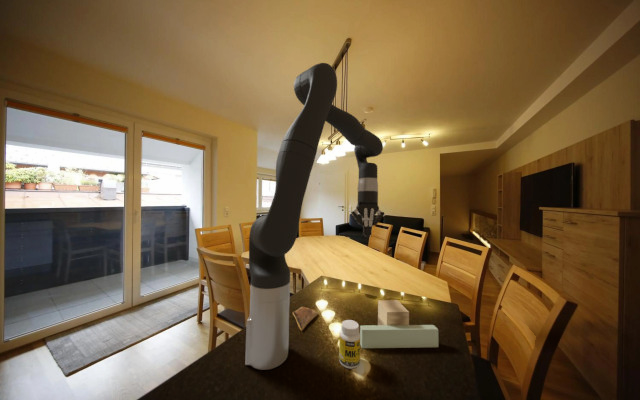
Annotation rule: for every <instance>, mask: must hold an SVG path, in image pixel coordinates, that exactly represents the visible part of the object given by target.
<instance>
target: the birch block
mask: <svg viewBox="0 0 640 400" xmlns="http://www.w3.org/2000/svg"><path fill="white" fill-rule="evenodd" d="M377 313H378V314H377V325H410V311H409V310H408V309H407V308H406V307H405V306H404V305H403V304H402V303H401V302H400V301H399V300H398V299H394V300H392V299H388V300H387V299H386V300H383V299H378V300H377Z"/></svg>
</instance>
